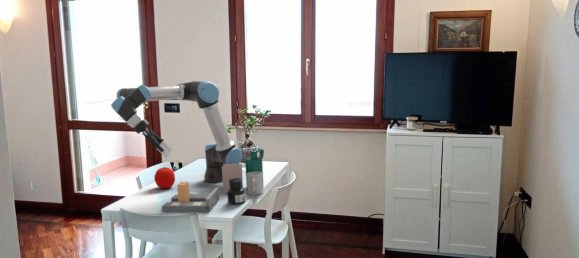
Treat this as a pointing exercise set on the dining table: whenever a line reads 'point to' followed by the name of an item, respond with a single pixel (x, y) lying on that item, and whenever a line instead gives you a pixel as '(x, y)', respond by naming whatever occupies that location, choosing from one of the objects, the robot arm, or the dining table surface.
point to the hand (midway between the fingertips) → (169, 154)
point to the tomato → (164, 177)
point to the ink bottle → (236, 191)
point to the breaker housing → (193, 203)
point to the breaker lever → (183, 192)
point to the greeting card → (231, 174)
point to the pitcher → (254, 162)
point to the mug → (254, 183)
